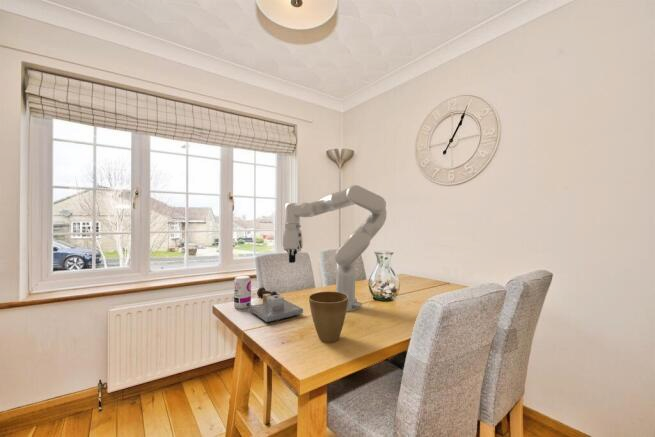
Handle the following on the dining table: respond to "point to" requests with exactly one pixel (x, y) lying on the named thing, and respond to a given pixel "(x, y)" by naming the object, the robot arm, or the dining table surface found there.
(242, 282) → the supplement can
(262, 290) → the bolt
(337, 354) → the dining table surface
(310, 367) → the dining table surface
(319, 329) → the plant pot
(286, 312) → the grey mounting base
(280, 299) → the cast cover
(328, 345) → the dining table surface
